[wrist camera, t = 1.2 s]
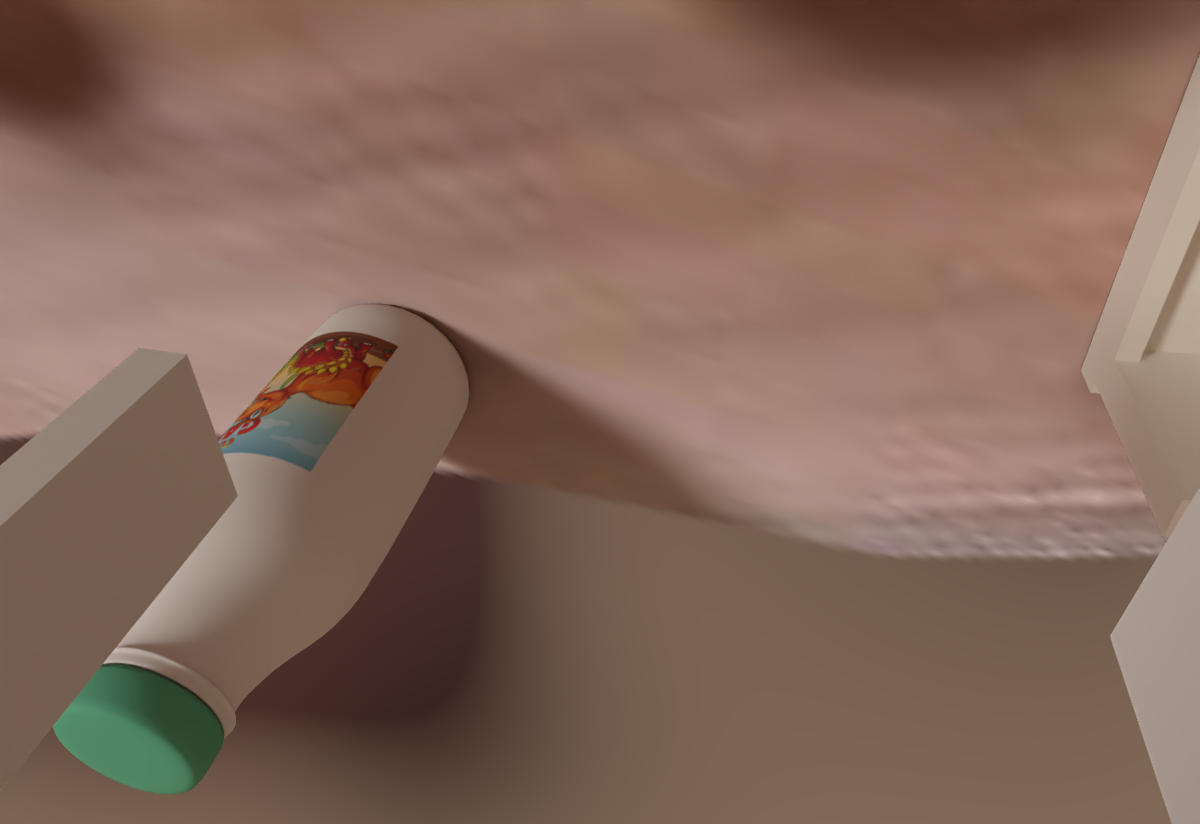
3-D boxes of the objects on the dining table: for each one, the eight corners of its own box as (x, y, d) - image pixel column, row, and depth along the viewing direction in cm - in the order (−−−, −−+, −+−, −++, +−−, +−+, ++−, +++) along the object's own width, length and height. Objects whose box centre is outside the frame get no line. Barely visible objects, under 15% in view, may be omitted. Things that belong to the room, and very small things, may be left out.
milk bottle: (487, 331, 37) (245, 737, 22) (460, 452, 42) (248, 854, 27) (322, 274, 37) (-36, 638, 22) (315, 402, 42) (18, 774, 26)
